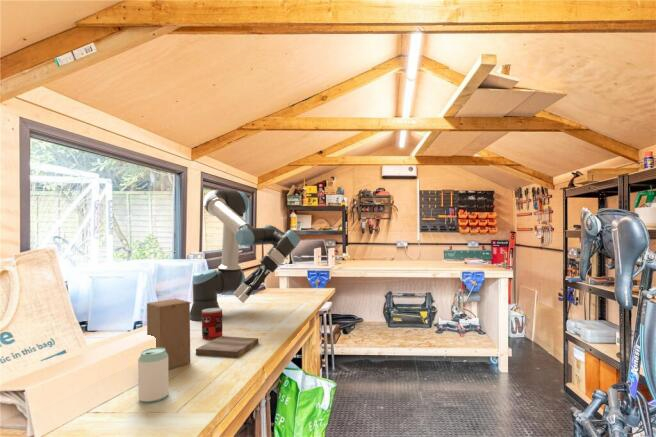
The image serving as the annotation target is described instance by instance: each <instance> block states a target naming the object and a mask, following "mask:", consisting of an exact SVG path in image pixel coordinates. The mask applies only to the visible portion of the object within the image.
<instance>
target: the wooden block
mask: <svg viewBox="0 0 656 437" xmlns="http://www.w3.org/2000/svg"><path fill="white" fill-rule="evenodd" d="M190 311H191V303H190V301H187V300H183V299H179V298H178V299H177V298H173V299H171V298H170V299H164V300H160V301H159V300H157V301H152V302H148V303H146V330H147V332H146V335H151V336H154V337H155V338H156V348H165V351H166V353H167V354H168V370H172V369H176V368H178V367H182V366H185V365H189V364H190V363H191V319H190Z"/></svg>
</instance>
